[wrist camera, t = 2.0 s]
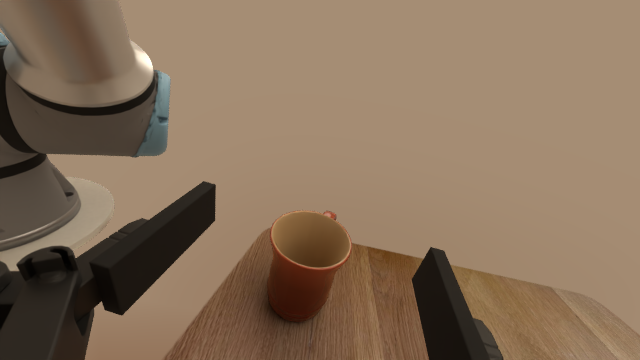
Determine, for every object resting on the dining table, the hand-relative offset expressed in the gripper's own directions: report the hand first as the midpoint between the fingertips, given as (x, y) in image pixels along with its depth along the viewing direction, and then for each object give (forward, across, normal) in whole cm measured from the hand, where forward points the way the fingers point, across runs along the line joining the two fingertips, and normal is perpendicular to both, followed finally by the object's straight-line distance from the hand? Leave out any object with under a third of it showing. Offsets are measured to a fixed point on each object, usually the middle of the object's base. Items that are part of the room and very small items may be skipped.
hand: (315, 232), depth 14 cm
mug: (+10, 0, -18) cm, 20 cm away
